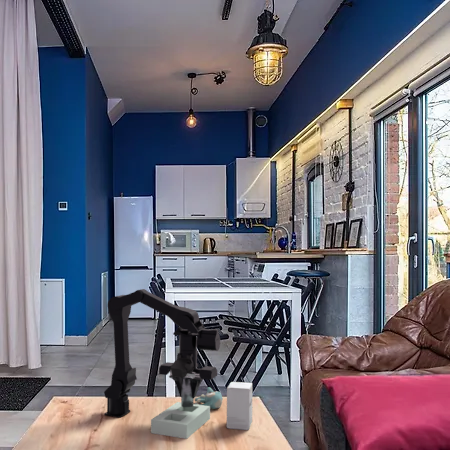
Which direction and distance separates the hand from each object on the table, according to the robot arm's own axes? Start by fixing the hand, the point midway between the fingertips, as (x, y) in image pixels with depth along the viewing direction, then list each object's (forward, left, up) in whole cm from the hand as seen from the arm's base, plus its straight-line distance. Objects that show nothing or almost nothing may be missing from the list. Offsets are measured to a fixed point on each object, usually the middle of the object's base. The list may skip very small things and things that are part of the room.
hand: (187, 397), depth 157 cm
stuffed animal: (+1, +16, -8) cm, 18 cm away
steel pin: (0, 0, -3) cm, 3 cm away
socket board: (0, -4, -8) cm, 9 cm away
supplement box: (+17, +3, -8) cm, 19 cm away
